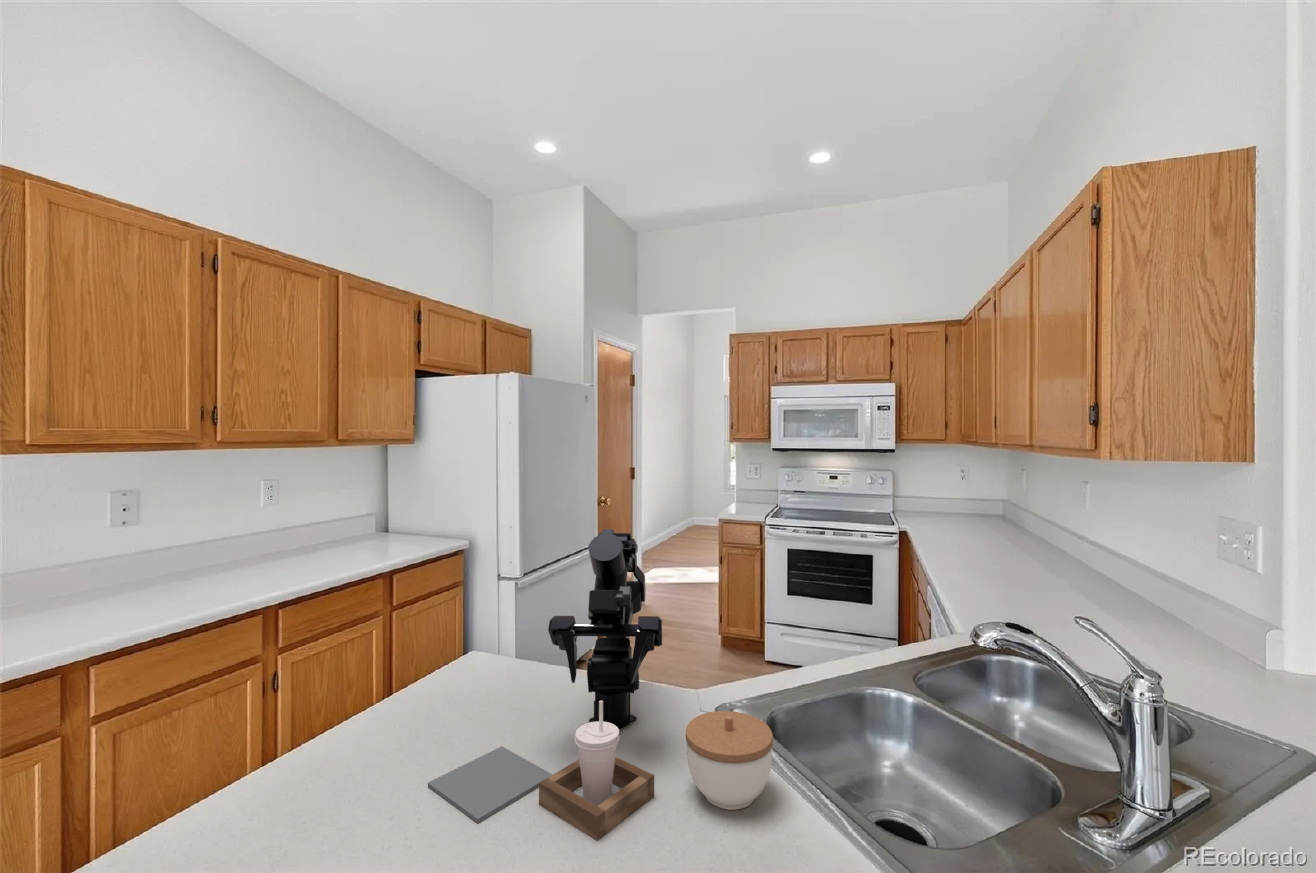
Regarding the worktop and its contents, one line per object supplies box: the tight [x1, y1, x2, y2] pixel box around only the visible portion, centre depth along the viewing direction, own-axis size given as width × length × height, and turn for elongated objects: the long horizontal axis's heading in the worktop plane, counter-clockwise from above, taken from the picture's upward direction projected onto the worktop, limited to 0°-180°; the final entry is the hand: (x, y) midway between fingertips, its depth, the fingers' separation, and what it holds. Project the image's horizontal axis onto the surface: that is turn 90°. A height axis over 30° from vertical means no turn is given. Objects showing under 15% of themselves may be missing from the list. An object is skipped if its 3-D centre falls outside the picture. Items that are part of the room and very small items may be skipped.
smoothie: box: [574, 701, 621, 806], centre depth 79 cm, size 6×6×14 cm
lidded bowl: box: [685, 710, 774, 811], centre depth 80 cm, size 13×13×11 cm
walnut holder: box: [538, 756, 655, 841], centre depth 78 cm, size 12×12×3 cm
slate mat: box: [427, 746, 554, 824], centre depth 83 cm, size 13×13×1 cm
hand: (602, 682), depth 86 cm, fingers open, 9 cm apart
